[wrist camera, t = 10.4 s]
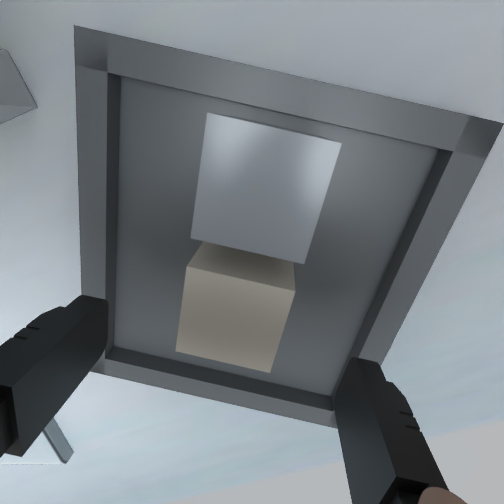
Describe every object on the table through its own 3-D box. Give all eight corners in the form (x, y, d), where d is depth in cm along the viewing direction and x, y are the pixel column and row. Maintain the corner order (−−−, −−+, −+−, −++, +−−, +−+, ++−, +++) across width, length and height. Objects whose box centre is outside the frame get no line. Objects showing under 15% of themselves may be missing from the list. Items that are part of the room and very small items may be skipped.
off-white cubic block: (215, 223, 14) (186, 266, 10) (291, 241, 14) (295, 291, 10) (204, 289, 15) (175, 351, 11) (273, 305, 15) (269, 373, 11)
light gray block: (233, 116, 12) (207, 112, 8) (321, 136, 12) (341, 142, 8) (218, 202, 13) (190, 238, 9) (297, 221, 13) (303, 264, 9)
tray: (96, 35, 12) (73, 25, 10) (479, 123, 12) (504, 123, 10) (97, 352, 18) (83, 369, 17) (343, 409, 18) (347, 431, 17)
